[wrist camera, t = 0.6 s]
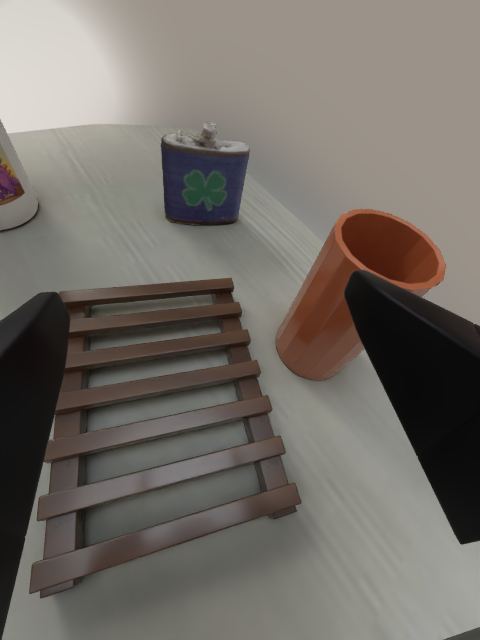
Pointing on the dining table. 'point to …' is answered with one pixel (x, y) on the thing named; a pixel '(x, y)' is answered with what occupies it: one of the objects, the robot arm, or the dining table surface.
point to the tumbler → (332, 277)
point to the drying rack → (151, 431)
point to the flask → (203, 177)
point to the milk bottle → (14, 187)
